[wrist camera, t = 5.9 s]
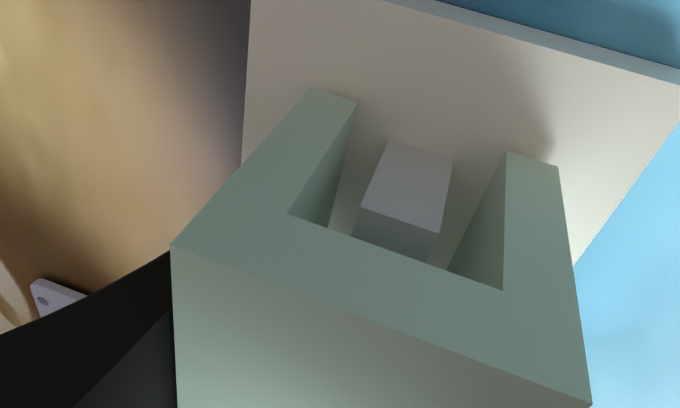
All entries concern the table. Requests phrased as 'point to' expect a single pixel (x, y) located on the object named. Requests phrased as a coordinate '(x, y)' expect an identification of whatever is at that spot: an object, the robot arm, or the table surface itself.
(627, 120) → the stub plate
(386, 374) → the housing
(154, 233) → the table surface
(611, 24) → the table surface
